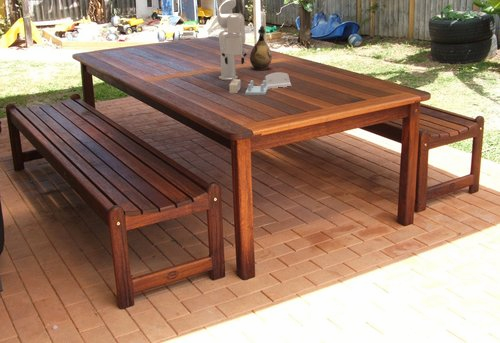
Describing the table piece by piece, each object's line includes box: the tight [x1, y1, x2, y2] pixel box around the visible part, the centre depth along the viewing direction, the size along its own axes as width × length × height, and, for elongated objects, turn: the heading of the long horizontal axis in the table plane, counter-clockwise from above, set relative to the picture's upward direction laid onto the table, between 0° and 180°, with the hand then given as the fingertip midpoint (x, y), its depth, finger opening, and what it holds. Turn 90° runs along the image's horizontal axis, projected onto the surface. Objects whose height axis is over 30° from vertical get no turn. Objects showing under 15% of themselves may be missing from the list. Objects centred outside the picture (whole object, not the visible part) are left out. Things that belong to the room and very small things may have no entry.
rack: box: [244, 79, 269, 96], centre depth 427 cm, size 18×12×6 cm, turn 173°
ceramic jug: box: [249, 25, 273, 71], centre depth 493 cm, size 17×15×30 cm
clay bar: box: [228, 78, 242, 94], centre depth 432 cm, size 16×4×6 cm, turn 173°
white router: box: [264, 71, 292, 90], centre depth 439 cm, size 17×5×10 cm, turn 108°
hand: (234, 64), depth 427 cm, fingers open, 9 cm apart
